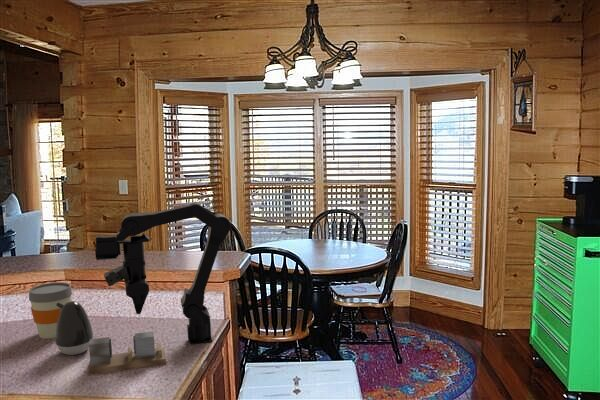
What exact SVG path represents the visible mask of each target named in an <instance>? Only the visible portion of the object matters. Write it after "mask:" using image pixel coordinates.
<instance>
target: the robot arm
mask: <svg viewBox="0 0 600 400" xmlns="http://www.w3.org/2000/svg"><path fill="white" fill-rule="evenodd" d="M192 218H195V219H197V220H198V221H200V222H201V223H203V224H205V225H206V226H208V227H207V237H206V238H207V239H206V243H205V247H204V249H203V253H202V255H201V259H200V261H199V264H198V268H197V269H196V273H195V276H194V279H193V283H192V284H191V286H190V287H189V289H188V288H186V287H185V288H183V289H184V290H183V295H182V297H181V298H180V305H181V308H182V313H183V315H184V317H186V319H188V324H187V325H186V331H187V333H186V334H187V335H186V336H187V340H188V341H189V342H190V345H195V344H196V345H197V344H202V343H209V342H213V337H212V329H211V328H212V327H211V326H212V324H211V316H210V311H209V309H208V307H206V306H205V305H204V303H205V291H206V287H207V286H208V282H209V279H210V276H211V273H212V270H213V266H214V264H215V261H216V258H217V256H218V253H219V250H220V247H221V245H223V242H224V241H225V240H226V239H227V236H228V234H229V233H230V231H231V227H232V225H231V222H230V220H229V219H228V217H227V216H226V215H224V214H223V213H215V212H213V211H212V210H210V209H208V208H206V207H204V206H203V205H201V204H200V203H198V202H194V201H193V202H192V203H189V204H185V205H180V206H176V207H173V208H172V207H171V208H169V209H167V208H166V209H163V210H159V211H154V212H130V213H127V214H126V215H125V216H124V217H123V218H122V221H121V223H120V229H119V230H118V231H116V234H115V235H107V236H103V235H97V236H96V237H95V249H94V252H95V253H94V255H95V260H96V261H103V260H104V261H105V260H106V261H107V260H117V259H118V257H119V256H121V255H122V253H123V261H122V265H120V266H118V267H115V268H113V269H111V270H109V271H106V272H105V273H104V274H103V277H104V279H105V281H106V284H107V285H108V287H112V286H114V285H115V284H117V283H119V282H121V281H124V284H125V285H124V288H125V295H126V296H127V297H129V298H130V299H131V300H132V304H133V306H134V310H135V313H136V315H140V314H141V313H142V310H143V309H144V305H145V302H146V300H147V297H148V295H149V292H150V286H149V282H148V281H147V274H146V259H145V246H144V243H148V242H150V241H151V239H150V236H148V235H147V234H146V233H145V232H147V231H149V230H150V229H153V228H154V227H155V228H156V227H158V226H161V225H162V226H163V225H167V224H171V223H174V222H175V223H177V222H180V221H183V220H188V219H192ZM139 234H140V235H139ZM129 237H130V238H129ZM127 238H128V239H127ZM122 250H123V252H122Z"/></svg>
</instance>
